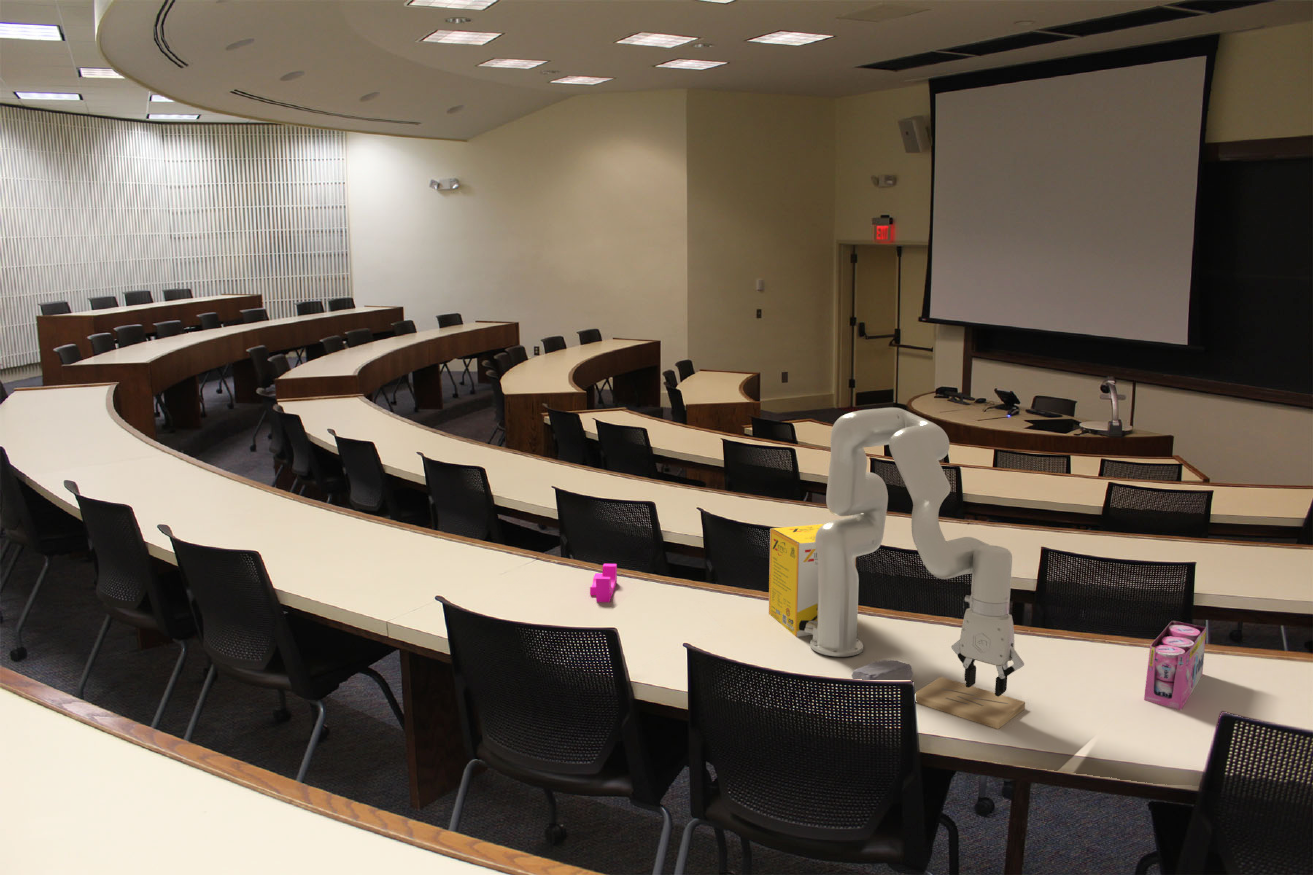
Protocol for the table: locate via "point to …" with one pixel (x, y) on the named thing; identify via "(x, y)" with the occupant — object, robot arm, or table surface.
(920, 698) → the board
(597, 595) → the toy block
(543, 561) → the table surface
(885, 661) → the stone block
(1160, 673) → the gum box
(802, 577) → the packaging box
